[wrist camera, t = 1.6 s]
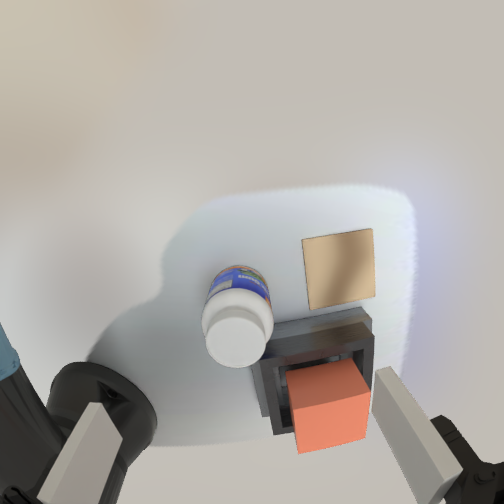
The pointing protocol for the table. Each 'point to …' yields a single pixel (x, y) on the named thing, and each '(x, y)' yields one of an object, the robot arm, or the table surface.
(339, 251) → the coaster
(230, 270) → the pill bottle
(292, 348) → the grey square tray
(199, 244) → the table surface
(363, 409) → the orange block
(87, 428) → the robot arm
